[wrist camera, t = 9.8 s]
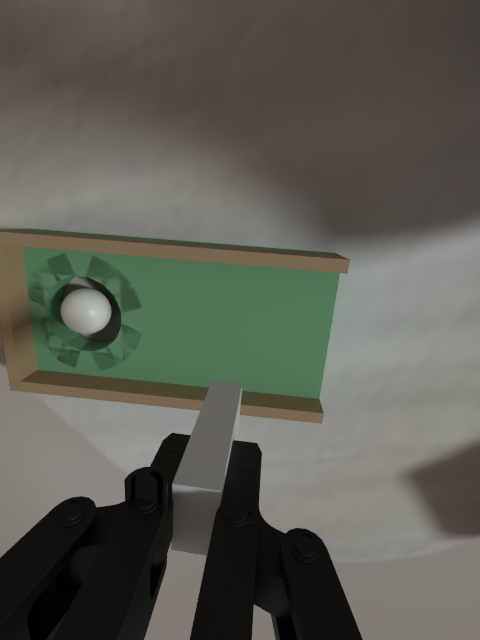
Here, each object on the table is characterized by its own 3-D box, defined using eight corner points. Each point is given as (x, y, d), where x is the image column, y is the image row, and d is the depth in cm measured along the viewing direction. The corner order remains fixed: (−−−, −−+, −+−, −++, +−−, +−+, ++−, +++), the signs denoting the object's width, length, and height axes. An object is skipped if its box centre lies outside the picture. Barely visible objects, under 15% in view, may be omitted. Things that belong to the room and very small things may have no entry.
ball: (120, 293, 32) (77, 290, 32) (102, 285, 28) (53, 282, 28) (115, 336, 32) (72, 333, 32) (97, 334, 28) (48, 331, 28)
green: (30, 228, 30) (-14, 230, 26) (335, 253, 29) (349, 259, 24) (45, 366, 34) (10, 390, 30) (313, 394, 33) (321, 423, 28)
